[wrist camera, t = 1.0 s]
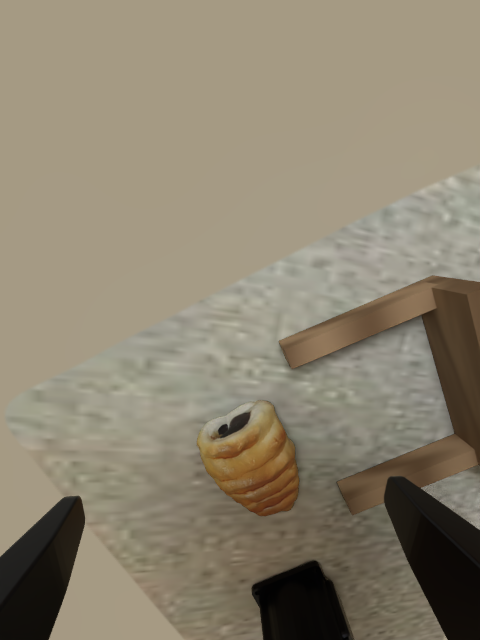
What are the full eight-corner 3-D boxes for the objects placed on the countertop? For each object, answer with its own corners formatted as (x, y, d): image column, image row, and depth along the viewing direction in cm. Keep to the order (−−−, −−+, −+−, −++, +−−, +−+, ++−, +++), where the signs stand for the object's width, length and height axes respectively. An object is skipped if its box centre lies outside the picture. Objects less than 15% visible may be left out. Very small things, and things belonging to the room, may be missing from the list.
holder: (342, 495, 26) (370, 551, 21) (278, 341, 23) (294, 367, 18) (475, 441, 26) (535, 486, 21) (432, 275, 22) (492, 283, 17)
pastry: (314, 478, 26) (329, 517, 22) (242, 511, 26) (245, 555, 23) (265, 388, 24) (273, 414, 20) (188, 426, 24) (181, 459, 20)
